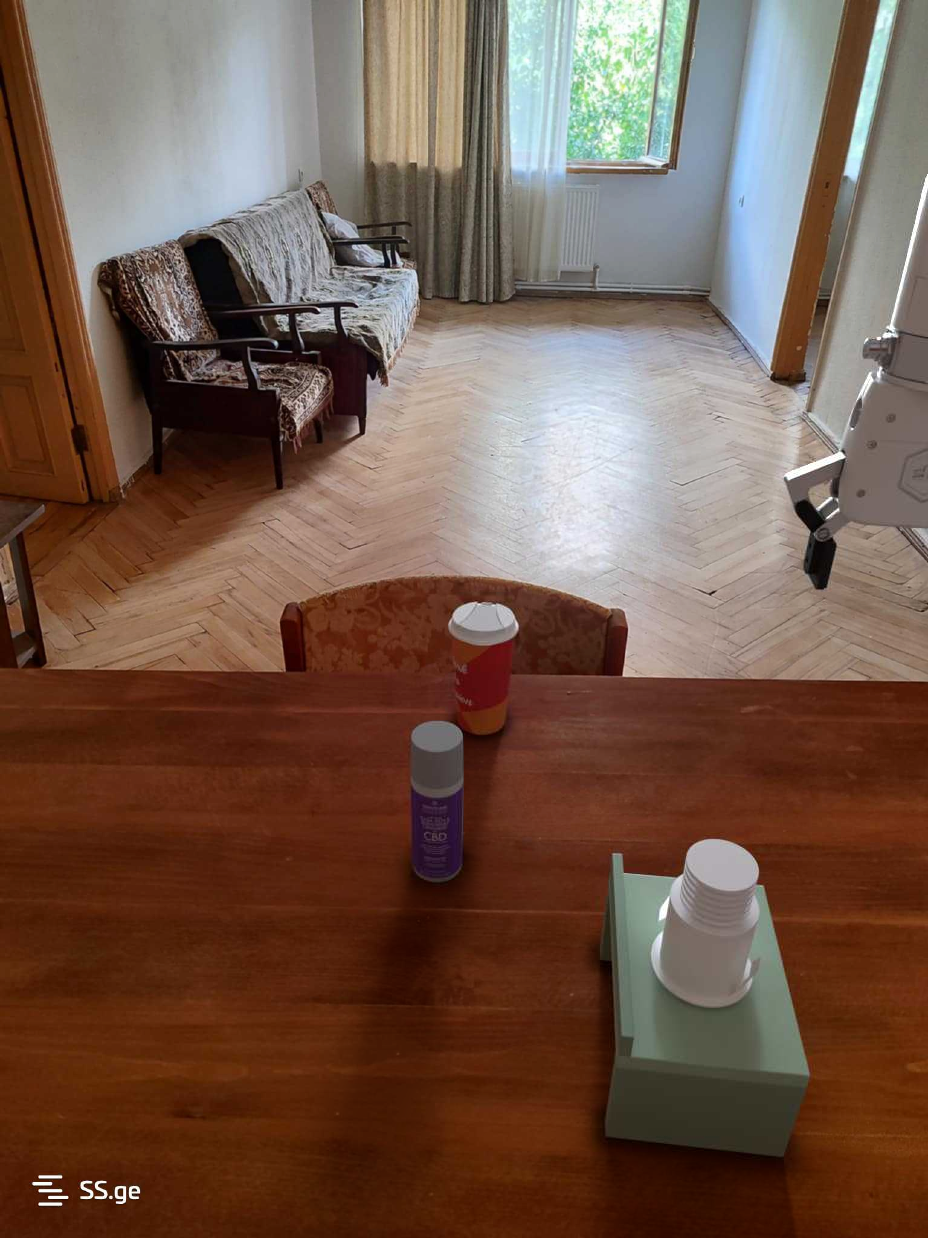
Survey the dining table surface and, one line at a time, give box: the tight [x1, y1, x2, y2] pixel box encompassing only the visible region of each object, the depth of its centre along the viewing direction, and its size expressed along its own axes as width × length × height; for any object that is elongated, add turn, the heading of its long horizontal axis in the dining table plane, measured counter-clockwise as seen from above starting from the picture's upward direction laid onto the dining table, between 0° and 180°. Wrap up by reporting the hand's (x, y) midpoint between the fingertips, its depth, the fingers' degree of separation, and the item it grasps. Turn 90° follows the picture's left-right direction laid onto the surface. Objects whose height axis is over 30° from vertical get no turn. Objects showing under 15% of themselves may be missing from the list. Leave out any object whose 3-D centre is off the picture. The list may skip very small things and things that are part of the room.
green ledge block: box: [599, 853, 811, 1158], centre depth 65 cm, size 12×16×11 cm
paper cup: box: [447, 601, 519, 736], centre depth 99 cm, size 8×8×14 cm
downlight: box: [651, 838, 761, 1008], centre depth 60 cm, size 8×7×10 cm
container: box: [410, 720, 464, 883], centre depth 79 cm, size 5×5×15 cm
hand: (880, 585), depth 68 cm, fingers open, 9 cm apart
